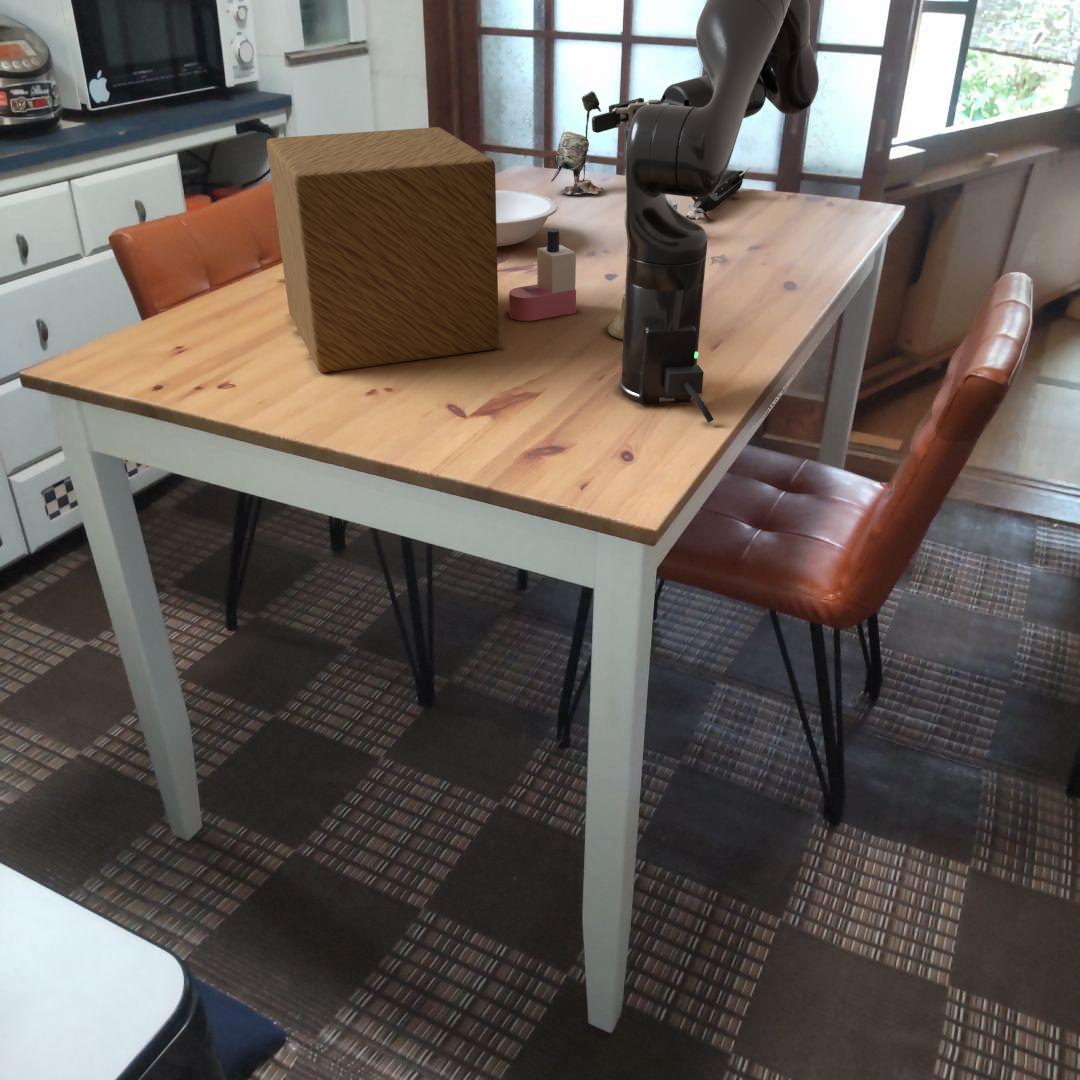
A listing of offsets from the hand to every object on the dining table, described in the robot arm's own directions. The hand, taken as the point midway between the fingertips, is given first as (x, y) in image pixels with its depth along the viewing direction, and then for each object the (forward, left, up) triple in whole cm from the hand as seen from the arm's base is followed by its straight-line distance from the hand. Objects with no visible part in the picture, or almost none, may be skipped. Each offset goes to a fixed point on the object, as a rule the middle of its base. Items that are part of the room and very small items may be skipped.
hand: (610, 130), depth 143 cm
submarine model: (+55, -35, -25) cm, 70 cm away
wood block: (-9, +33, -25) cm, 42 cm away
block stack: (-4, +11, -25) cm, 27 cm away
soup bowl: (+35, +14, -25) cm, 46 cm away
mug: (+34, -15, -25) cm, 45 cm away
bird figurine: (+71, -8, -25) cm, 76 cm away
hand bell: (-14, -2, -25) cm, 29 cm away
